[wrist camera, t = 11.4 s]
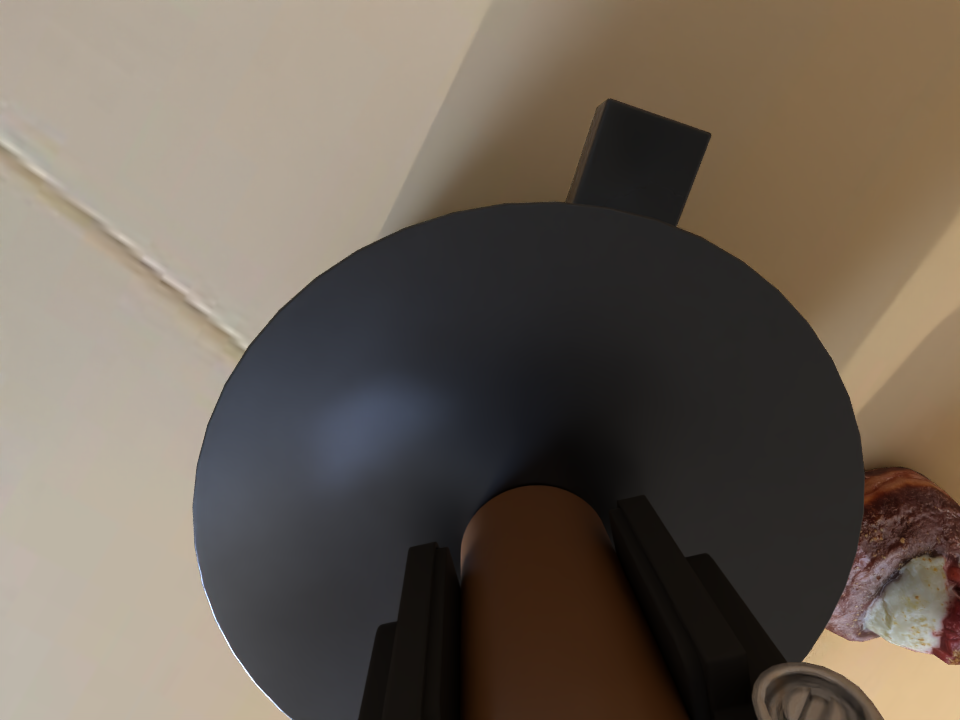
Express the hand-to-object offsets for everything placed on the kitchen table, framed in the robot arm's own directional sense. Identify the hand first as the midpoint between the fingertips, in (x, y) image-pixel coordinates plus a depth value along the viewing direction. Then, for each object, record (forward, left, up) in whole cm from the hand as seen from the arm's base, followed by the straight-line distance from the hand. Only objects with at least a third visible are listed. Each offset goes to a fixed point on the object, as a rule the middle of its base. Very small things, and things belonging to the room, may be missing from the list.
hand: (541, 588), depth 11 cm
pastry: (+17, -2, -11) cm, 20 cm away
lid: (0, 0, -2) cm, 2 cm away
